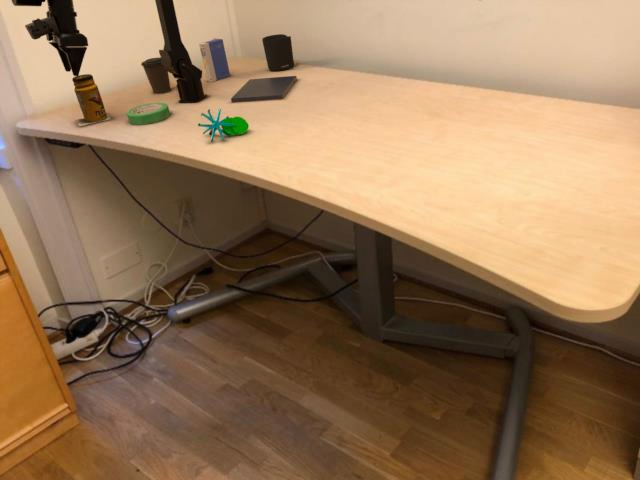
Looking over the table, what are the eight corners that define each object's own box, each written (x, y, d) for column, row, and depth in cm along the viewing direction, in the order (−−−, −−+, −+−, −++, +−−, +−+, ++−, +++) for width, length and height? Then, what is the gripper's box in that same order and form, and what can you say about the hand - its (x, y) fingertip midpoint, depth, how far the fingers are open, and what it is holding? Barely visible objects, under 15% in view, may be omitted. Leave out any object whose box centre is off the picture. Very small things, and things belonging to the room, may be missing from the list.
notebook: (297, 79, 182) (296, 75, 182) (282, 99, 165) (282, 94, 164) (250, 83, 184) (249, 79, 184) (231, 102, 167) (230, 98, 166)
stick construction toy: (202, 137, 135) (198, 105, 135) (195, 148, 141) (191, 117, 141) (252, 139, 140) (248, 108, 141) (243, 150, 146) (239, 120, 147)
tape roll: (139, 127, 154) (135, 117, 153) (123, 120, 162) (119, 110, 160) (177, 116, 160) (174, 106, 159) (160, 109, 168) (157, 100, 166)
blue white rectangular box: (225, 75, 197) (216, 37, 191) (230, 75, 196) (222, 38, 189) (206, 81, 192) (197, 42, 186) (211, 81, 191) (203, 43, 184)
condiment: (111, 119, 164) (97, 75, 158) (80, 126, 160) (64, 82, 154) (105, 114, 169) (91, 71, 163) (75, 121, 166) (59, 78, 159)
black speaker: (264, 72, 195) (258, 41, 190) (272, 65, 203) (267, 35, 197) (291, 71, 193) (286, 39, 188) (298, 64, 201) (293, 33, 196)
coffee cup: (180, 88, 187) (172, 56, 182) (160, 95, 181) (151, 62, 176) (163, 87, 191) (154, 55, 186) (143, 94, 185) (134, 61, 180)
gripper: (18, 4, 146) (30, 70, 153) (30, 7, 132) (43, 79, 139) (66, 5, 152) (76, 69, 159) (83, 9, 138) (93, 77, 145)
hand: (72, 73), depth 150 cm, fingers open, 9 cm apart
